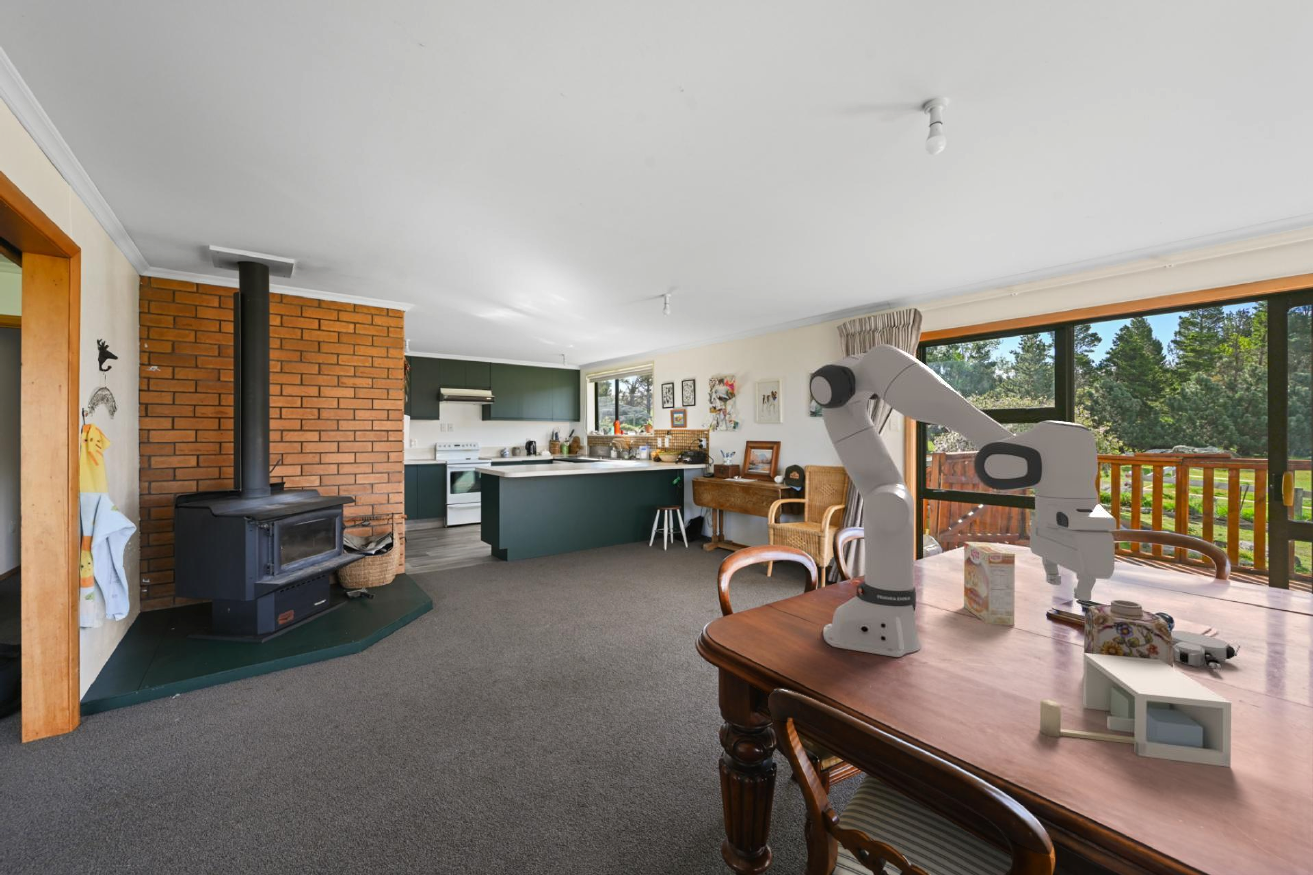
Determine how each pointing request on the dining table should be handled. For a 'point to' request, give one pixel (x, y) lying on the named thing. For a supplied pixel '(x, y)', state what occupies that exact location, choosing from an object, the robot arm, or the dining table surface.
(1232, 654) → the robot toy
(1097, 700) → the shelf
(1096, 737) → the corded block
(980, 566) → the coffeecake box
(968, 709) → the dining table surface
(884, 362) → the robot arm
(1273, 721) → the dining table surface
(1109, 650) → the decorative jar
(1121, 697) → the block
